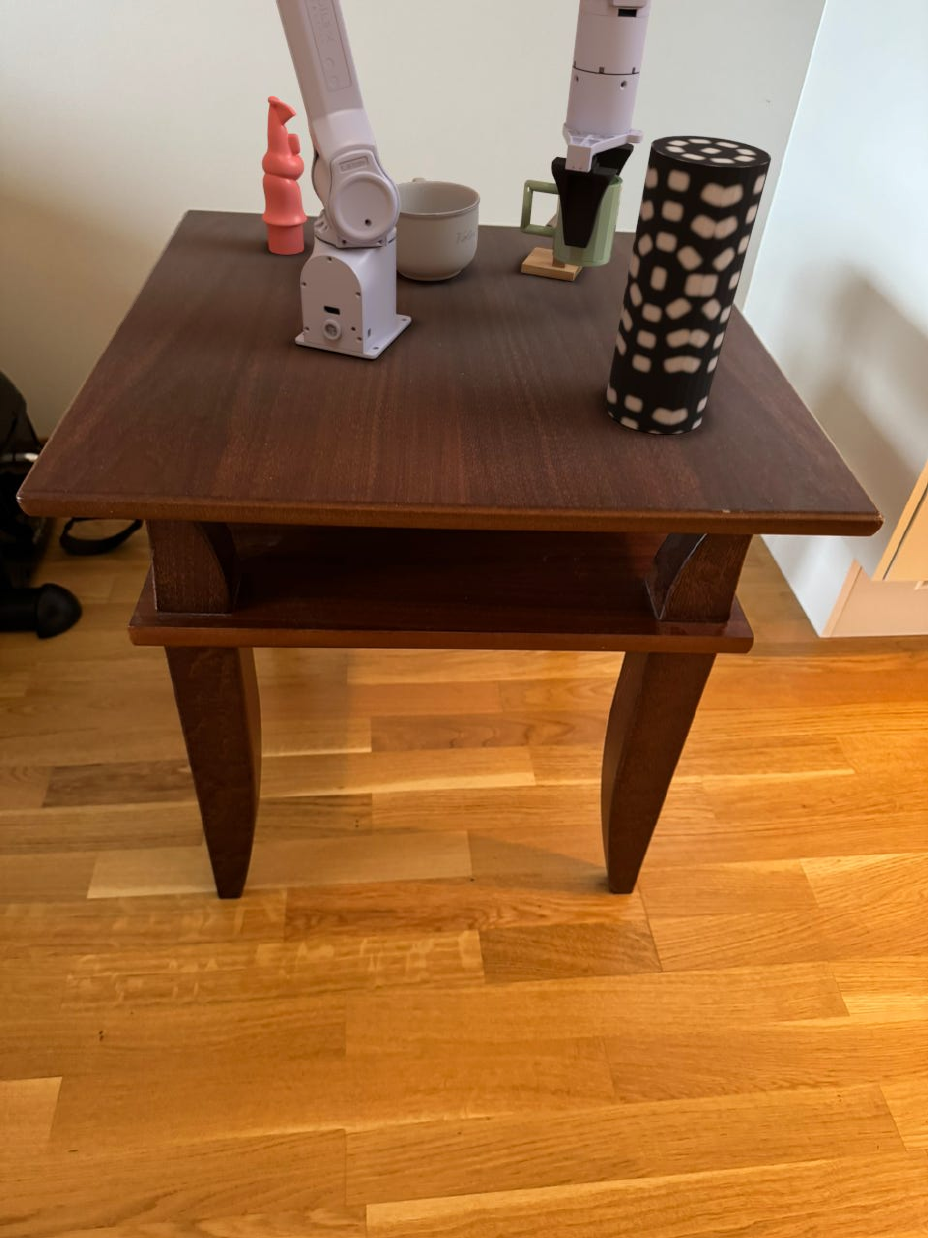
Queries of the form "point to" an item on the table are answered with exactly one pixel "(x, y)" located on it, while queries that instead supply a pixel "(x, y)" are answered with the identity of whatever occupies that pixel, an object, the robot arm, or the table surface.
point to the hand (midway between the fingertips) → (582, 235)
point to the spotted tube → (683, 279)
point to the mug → (584, 257)
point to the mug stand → (548, 263)
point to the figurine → (282, 183)
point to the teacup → (435, 229)
